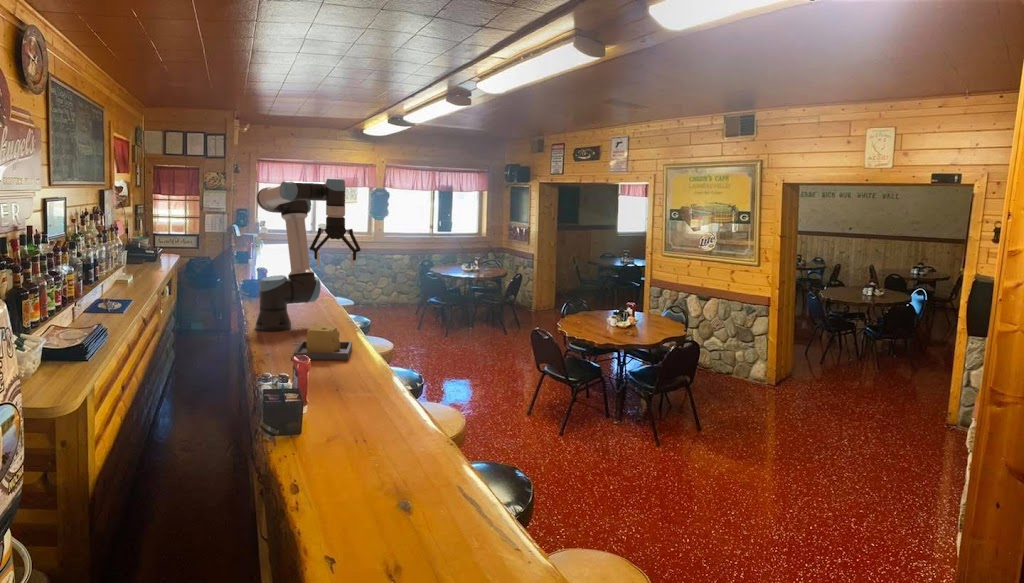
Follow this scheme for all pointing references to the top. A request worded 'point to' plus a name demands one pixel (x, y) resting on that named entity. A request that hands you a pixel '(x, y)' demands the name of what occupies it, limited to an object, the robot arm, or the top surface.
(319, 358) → the tray
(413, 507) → the top surface
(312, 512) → the top surface
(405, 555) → the top surface
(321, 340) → the cheese
